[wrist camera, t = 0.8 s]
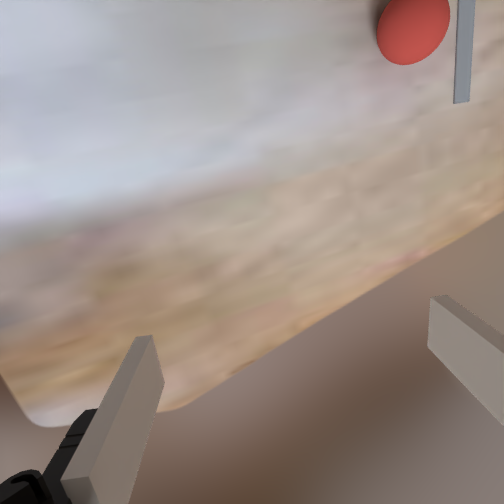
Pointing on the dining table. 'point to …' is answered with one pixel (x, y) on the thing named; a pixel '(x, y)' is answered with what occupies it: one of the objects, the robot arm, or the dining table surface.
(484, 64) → the dining table surface
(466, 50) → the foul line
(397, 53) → the ball
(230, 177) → the dining table surface
